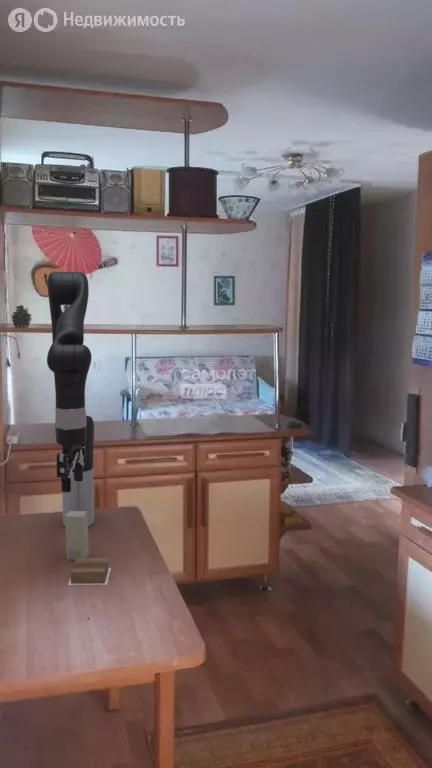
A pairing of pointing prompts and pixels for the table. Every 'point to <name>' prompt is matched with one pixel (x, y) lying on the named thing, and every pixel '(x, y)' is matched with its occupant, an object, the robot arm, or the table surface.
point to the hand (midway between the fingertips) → (72, 486)
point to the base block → (89, 570)
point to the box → (76, 534)
